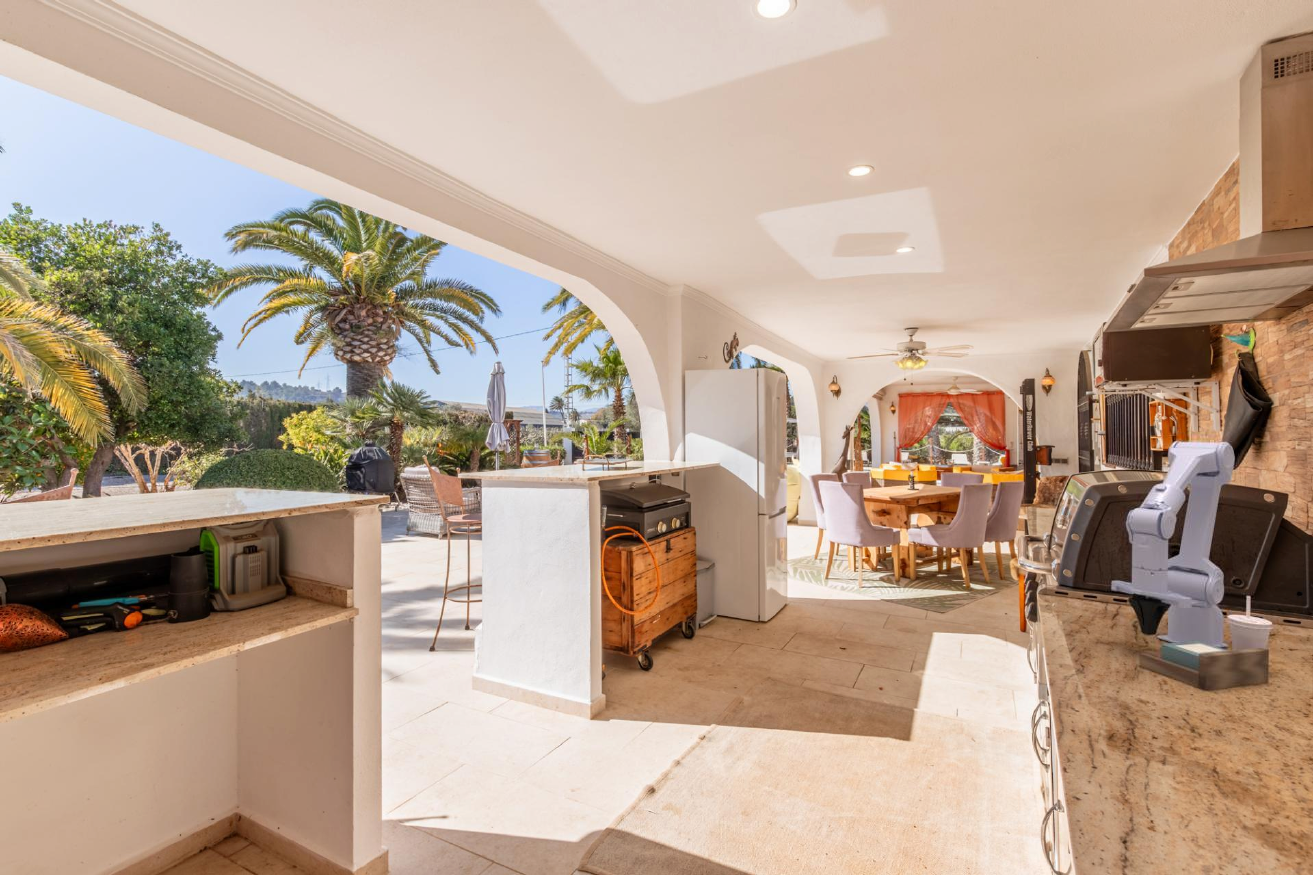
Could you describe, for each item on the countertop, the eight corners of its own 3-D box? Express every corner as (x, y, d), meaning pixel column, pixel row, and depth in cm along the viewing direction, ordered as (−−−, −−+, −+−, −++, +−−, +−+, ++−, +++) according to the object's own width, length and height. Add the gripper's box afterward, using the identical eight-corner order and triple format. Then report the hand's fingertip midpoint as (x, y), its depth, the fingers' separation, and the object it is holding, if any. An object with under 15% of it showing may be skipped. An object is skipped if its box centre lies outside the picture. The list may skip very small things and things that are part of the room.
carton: (1196, 666, 121) (1197, 640, 121) (1237, 680, 114) (1238, 653, 114) (1160, 669, 119) (1161, 643, 119) (1200, 684, 112) (1200, 656, 112)
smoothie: (1262, 666, 121) (1263, 595, 121) (1278, 678, 115) (1280, 603, 115) (1220, 661, 124) (1221, 591, 123) (1234, 672, 118) (1235, 598, 118)
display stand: (1197, 659, 124) (1198, 630, 124) (1268, 682, 113) (1268, 650, 113) (1138, 666, 120) (1139, 635, 120) (1205, 690, 109) (1206, 656, 109)
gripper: (1100, 561, 132) (1099, 624, 132) (1172, 576, 118) (1171, 647, 118) (1126, 559, 134) (1125, 622, 134) (1200, 574, 120) (1199, 644, 120)
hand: (1148, 633), depth 126 cm, fingers closed
